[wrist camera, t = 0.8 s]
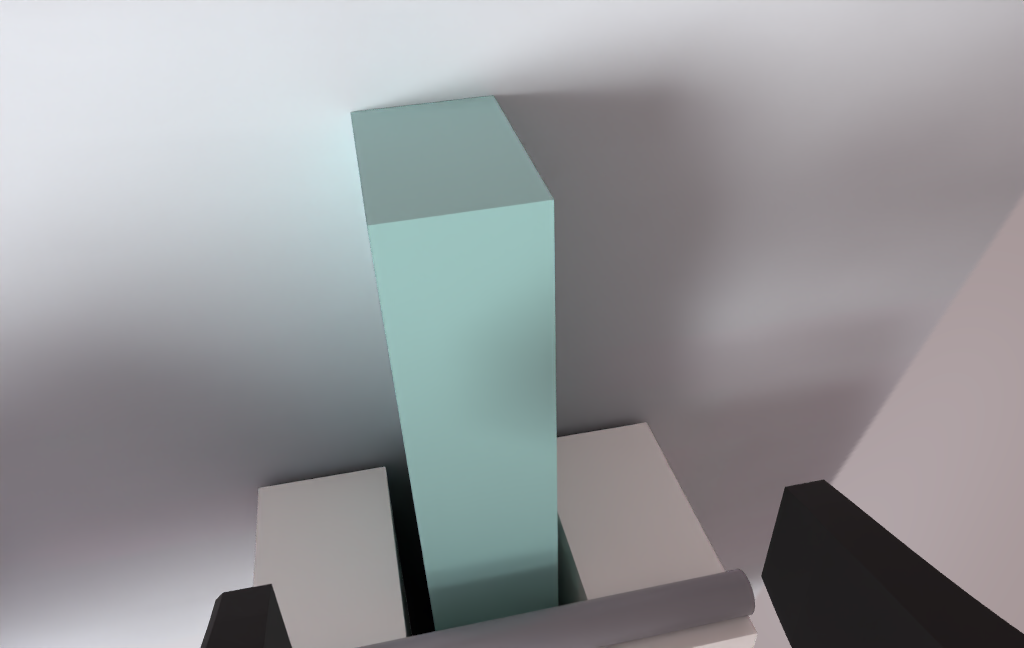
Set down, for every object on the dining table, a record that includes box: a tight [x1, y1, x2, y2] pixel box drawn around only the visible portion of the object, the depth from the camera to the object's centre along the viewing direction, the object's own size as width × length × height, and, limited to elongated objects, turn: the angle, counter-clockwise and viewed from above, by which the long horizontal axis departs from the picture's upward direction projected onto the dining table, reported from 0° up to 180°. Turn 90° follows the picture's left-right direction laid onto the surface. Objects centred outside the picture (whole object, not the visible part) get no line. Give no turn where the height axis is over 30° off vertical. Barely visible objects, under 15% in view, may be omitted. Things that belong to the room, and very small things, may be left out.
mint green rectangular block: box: [351, 95, 558, 631], centre depth 19 cm, size 16×3×5 cm, turn 3°
